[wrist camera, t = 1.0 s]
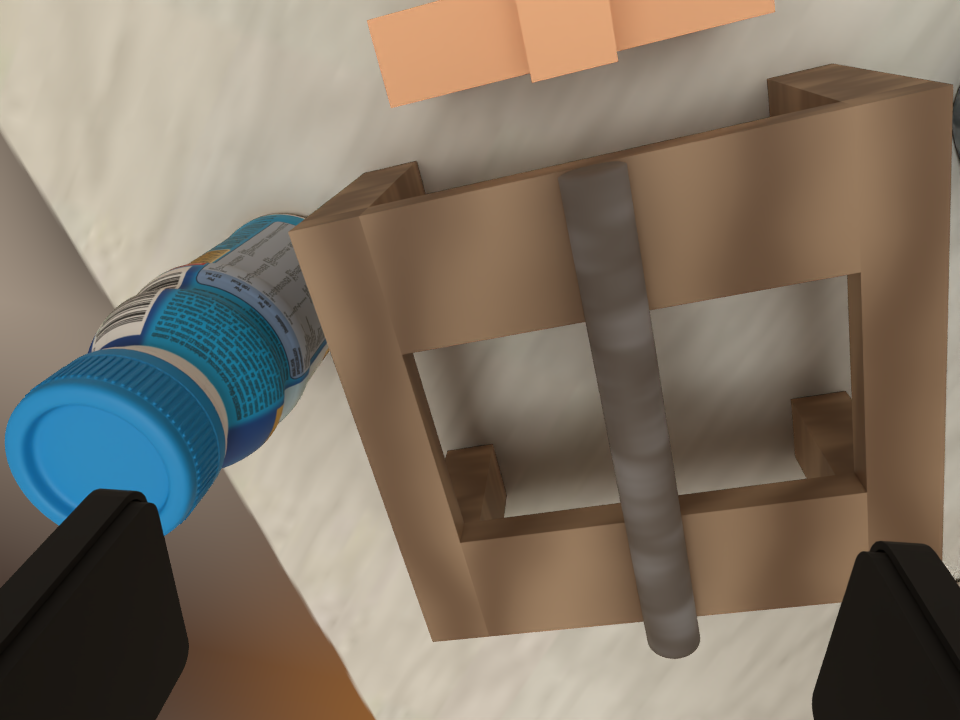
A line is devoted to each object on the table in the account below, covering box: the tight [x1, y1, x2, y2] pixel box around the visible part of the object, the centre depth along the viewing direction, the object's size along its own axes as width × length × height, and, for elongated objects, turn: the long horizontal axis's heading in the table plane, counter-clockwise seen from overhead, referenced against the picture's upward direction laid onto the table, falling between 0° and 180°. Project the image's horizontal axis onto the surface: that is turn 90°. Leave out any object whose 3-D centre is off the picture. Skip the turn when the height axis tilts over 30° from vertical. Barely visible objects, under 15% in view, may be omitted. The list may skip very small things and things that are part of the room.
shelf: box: [288, 64, 953, 659], centre depth 35 cm, size 24×22×14 cm
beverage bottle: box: [5, 214, 329, 536], centre depth 33 cm, size 8×8×20 cm
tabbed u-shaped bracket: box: [367, 0, 775, 108], centre depth 28 cm, size 14×3×16 cm, turn 104°
